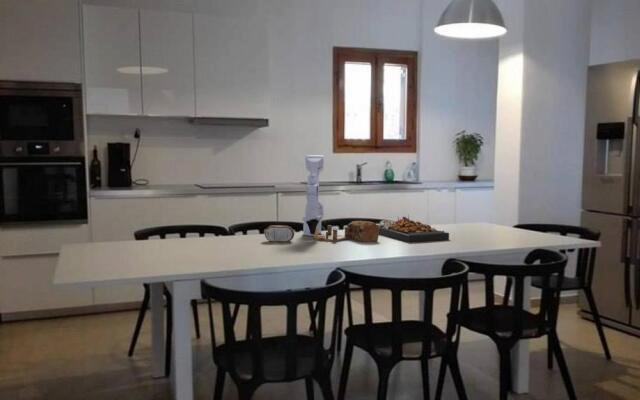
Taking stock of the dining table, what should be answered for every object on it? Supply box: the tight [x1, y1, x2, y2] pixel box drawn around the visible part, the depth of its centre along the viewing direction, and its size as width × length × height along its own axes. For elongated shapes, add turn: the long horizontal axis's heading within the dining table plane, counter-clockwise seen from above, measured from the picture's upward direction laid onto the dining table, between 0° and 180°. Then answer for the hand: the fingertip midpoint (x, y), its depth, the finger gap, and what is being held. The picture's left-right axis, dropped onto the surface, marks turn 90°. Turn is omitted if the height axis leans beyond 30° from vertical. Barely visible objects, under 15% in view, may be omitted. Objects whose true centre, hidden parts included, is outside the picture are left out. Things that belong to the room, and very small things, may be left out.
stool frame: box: [313, 224, 352, 243], centre depth 290 cm, size 14×14×6 cm
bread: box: [346, 220, 380, 243], centre depth 290 cm, size 19×11×10 cm, turn 21°
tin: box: [264, 224, 295, 243], centre depth 281 cm, size 15×3×8 cm, turn 84°
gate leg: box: [312, 228, 325, 239], centre depth 286 cm, size 6×2×5 cm, turn 82°
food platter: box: [374, 214, 450, 244], centre depth 304 cm, size 45×25×10 cm, turn 23°
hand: (312, 234), depth 285 cm, fingers closed
